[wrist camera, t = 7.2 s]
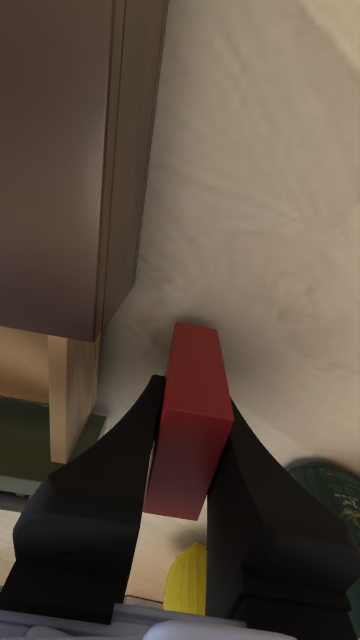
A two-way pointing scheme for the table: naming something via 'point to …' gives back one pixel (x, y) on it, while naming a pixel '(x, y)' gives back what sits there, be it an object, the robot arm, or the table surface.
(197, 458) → the red rectangular block
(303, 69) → the table surface
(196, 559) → the lemon
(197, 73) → the table surface
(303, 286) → the table surface
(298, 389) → the table surface
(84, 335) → the cabinet
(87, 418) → the drawer
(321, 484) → the coffee jar
